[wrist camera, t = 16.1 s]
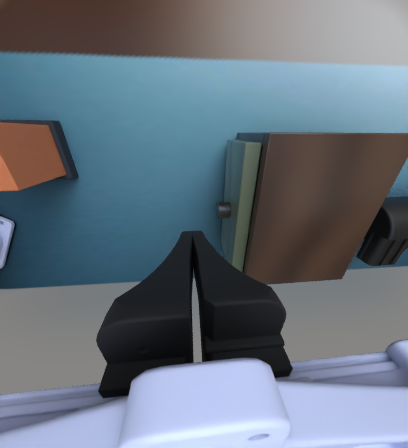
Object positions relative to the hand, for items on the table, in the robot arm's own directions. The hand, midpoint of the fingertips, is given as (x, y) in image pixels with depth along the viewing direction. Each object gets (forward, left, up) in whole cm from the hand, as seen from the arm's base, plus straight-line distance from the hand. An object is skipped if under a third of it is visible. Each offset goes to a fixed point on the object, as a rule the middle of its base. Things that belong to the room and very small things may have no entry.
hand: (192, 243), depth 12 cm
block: (-15, -4, -8) cm, 17 cm away
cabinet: (+8, +6, -9) cm, 14 cm away
